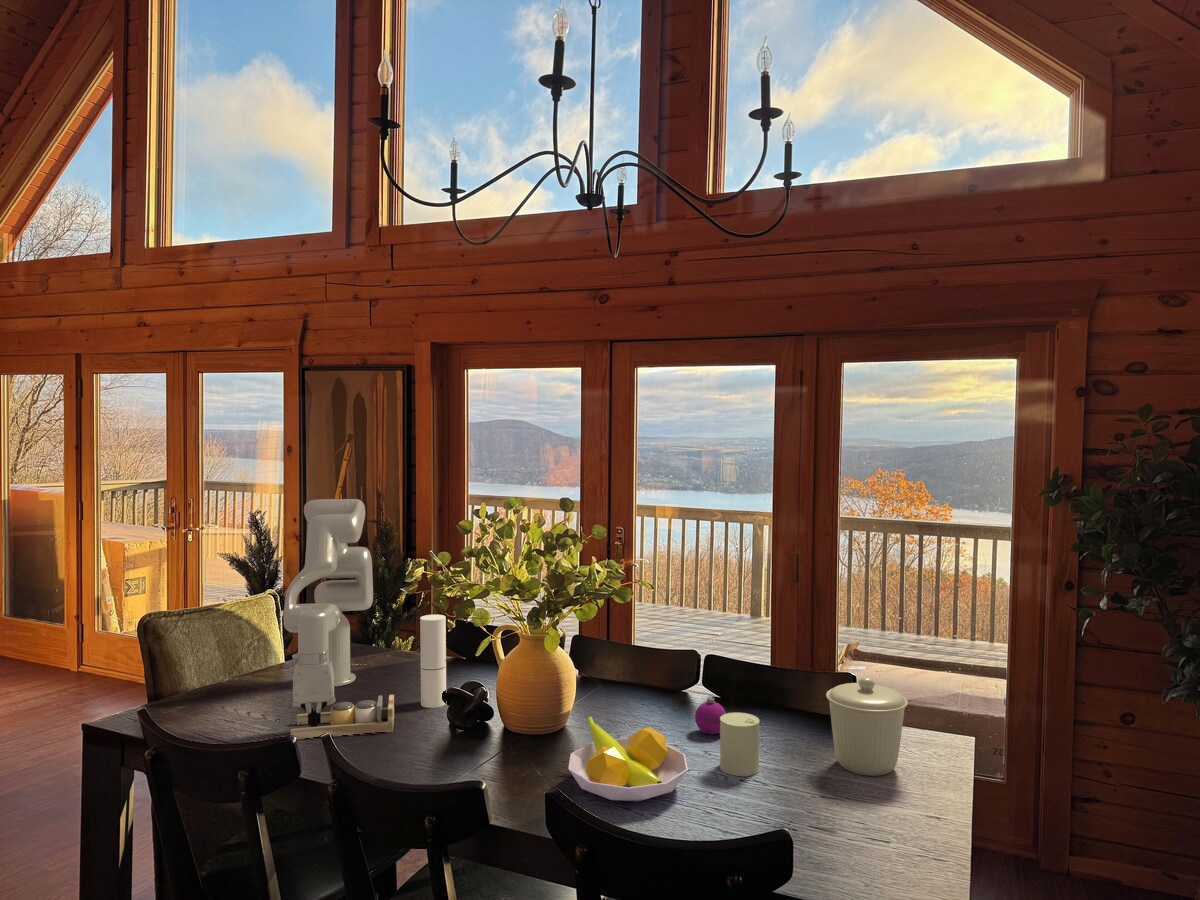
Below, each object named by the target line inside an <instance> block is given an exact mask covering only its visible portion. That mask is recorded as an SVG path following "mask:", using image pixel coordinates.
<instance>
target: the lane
mask: <svg viewBox="0 0 1200 900" xmlns="http://www.w3.org/2000/svg"><path fill="white" fill-rule="evenodd" d="M387 704H388V705H387V707H382V709H383V718H382V719H387V720H385V721H382V722H371V723H358V724H345V725H332V726H331V725H321V726H318V727H311V726H308V727H296V728H291V729H290V736H291V735H294V736H296V738H297V740H305V738H310V739H314V738H313V737H318V736H320V735H322V734H324V733H330V734H331V735H333V737H332V738H335V737H343V736H342V735H348V736H354V735H353V734H360V735H365V734H364V733H373V734H376V733H375V732H386V733H393V732H394V724H395V723H394V722H395V721H394V720H395V694H389V695H388V703H387ZM320 713H321V722H320V724H328V723H330V724H331V711H323V712H322V711H321V712H320ZM384 717H385V718H384ZM387 717H388V718H387ZM300 724H301V725H308V713H307V712H306V713H297V714H296V725H297V726H299V725H300Z"/></svg>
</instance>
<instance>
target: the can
mask: <svg viewBox="0 0 1200 900" xmlns="http://www.w3.org/2000/svg"><path fill="white" fill-rule="evenodd" d="M760 722H761V721H760V718H759V717H758V716H756V715H754V714H750V713H746V712H728V713H727V712H726V714H724V715H722V716H721V717H720V732H719V734H720V735H719V737H720V738H719V739H720V742H719V743H720V745H719V746H720V747H719V748H720V756H719V757H720V759H719V770H721V771H722V772H724V773H726V774H727V775H730V776H735V777H749V776H754V775H756V774H758V773H759V771H760Z"/></svg>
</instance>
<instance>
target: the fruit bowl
mask: <svg viewBox="0 0 1200 900" xmlns="http://www.w3.org/2000/svg"><path fill="white" fill-rule="evenodd" d="M587 721H588V723H589V725H590V726H589V729H590V732H591V733H590V734H591V737H592V742H590V743H589V744H586V745H585V746H582V747H581V748H578V749H577V750H576V749H575V751H573V752H571V753H570V756H569V762H568V770H569V772H570V773H571V775H572V777H573V778H574V780H575V781H576V782H577V784H578V785H579V787H580V788H581V789H582V790H585V791H587V792H589V793H592V794H595V795H598V796H600V797H602V798H605V799H608V800H610V801H623V802H641V801H645V800H648V799H651V798H655V797H659V796H661V795H665V794H669V793H672V792H673V791H674V789H676V787H677V786H678V784H679V783H680V782H681V780H682V779H683V778H684V776H685V774H686V773H687V772H688V770H689V769H688V764H687V759H686V758H687V757H686V754H685V753H683V752H682V751H679V750H678V749H675V748H673V747H672V746H669V745H667V741H666V740H667V739H666V736H664V735H663V734H662V733H660V732H658V731H657V730H655V729H654V728H652V727H651V726H648V727H645V728H642V729H639V730H638V731H636V732H635V733H633V734H631V735H630V736H629V737H625V738H617V739H616V738H614V737H613V736H611V735H610V734H609V733H608V732H607V731H605V730H604V729H603V728H602V727H601V726H600V725H598V724H597V723H595V722H594V720H593V717H592V716H589V717H587Z"/></svg>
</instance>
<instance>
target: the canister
mask: <svg viewBox="0 0 1200 900" xmlns="http://www.w3.org/2000/svg"><path fill="white" fill-rule="evenodd" d="M825 697H826V699H827V700H828V701H829V710H830V711H829V712H830V719H831V720H830V722H831V731H832V737H833V739H832V740H833V747H834V753H835V758H836V759H837V762H838V763H839V765H840V766H841V767H843V768H844V769H845V770H847V771H849V772H852V773H854V774H857V775H863V776H869V777H870V776H871V777H872V776H873V777H876V776H877V777H878V776H884V775H888V774H889V773H891V772H892V771H893V770H894V769H895V768H896V767H897V763H898V759H899V752H900V747H901V739H902V732H903V725H904V723H903V722H904V715H905V709H906V708H907V706H908V705H909V701H908V699H907V698H906V697H905V696H904V695H902V694H900V693H899V692H898V691H897V690H894V689H892V688H889V687H888V686H884V685H880V684H875V681H874V680H873V679H872V678H871V677H868V676H865V677H864V676H863V677H861V678H860V679H859V680H858V682H850V683H849V682H847V683H843V684H839V685H836V686H834V687H832V688H830V689H829V690H827V691H826V693H825Z"/></svg>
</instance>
